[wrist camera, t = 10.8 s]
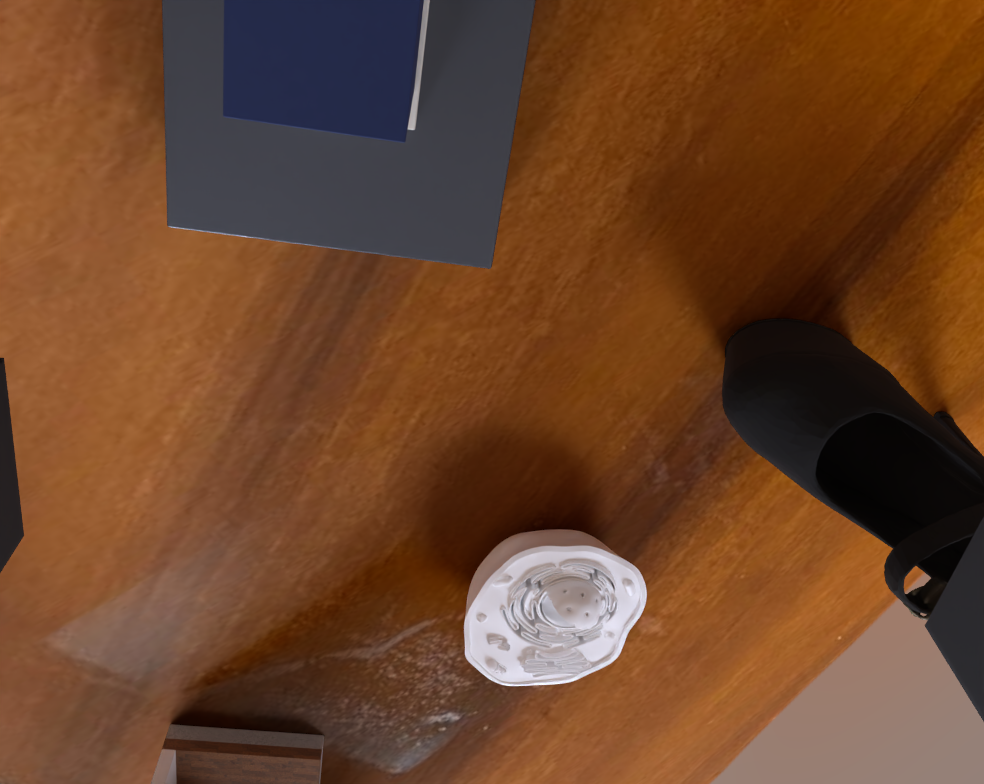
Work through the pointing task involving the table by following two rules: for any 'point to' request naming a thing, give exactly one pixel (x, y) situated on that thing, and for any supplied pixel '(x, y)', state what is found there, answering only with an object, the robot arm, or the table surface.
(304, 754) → the white architectural model
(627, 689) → the table surface
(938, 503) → the high-heeled shoe
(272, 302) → the table surface
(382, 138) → the navy block on base
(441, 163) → the shoe shelf
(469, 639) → the cell model
